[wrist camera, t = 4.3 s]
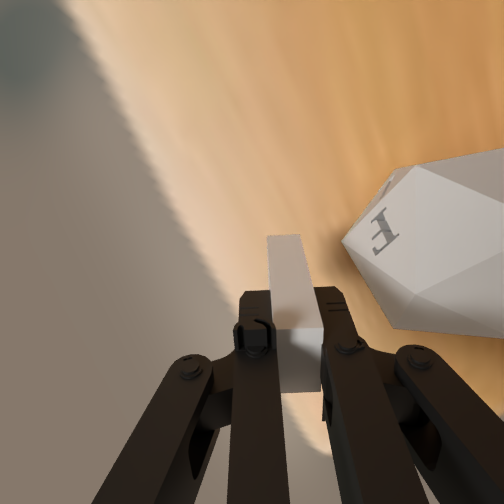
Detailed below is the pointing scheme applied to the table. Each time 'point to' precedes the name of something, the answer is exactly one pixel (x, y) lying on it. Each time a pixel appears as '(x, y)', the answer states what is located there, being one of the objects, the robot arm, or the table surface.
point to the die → (437, 246)
